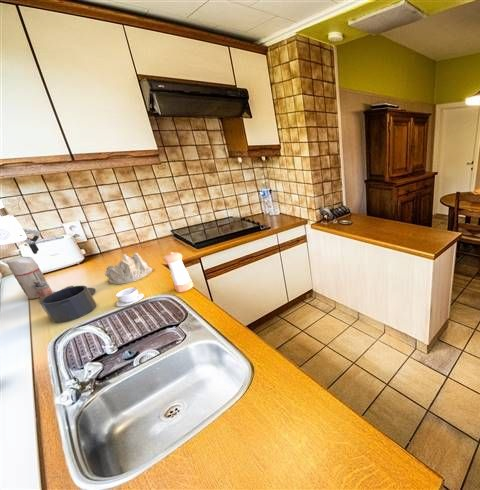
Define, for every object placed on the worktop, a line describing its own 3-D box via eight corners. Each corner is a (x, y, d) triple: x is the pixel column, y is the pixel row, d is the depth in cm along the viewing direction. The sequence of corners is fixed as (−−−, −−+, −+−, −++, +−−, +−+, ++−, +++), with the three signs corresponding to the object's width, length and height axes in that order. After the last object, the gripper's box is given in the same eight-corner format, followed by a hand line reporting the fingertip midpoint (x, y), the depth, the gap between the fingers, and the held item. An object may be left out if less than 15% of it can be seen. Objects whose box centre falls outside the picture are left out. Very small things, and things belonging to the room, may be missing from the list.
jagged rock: (157, 268, 150) (144, 244, 143) (131, 285, 135) (116, 259, 128) (134, 270, 152) (120, 246, 145) (105, 286, 137) (89, 261, 131)
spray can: (34, 293, 132) (11, 257, 124) (56, 288, 135) (35, 253, 127) (23, 301, 125) (-3, 264, 117) (47, 296, 128) (23, 260, 120)
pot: (51, 330, 104) (38, 311, 100) (53, 311, 116) (41, 293, 113) (97, 313, 113) (87, 295, 109) (95, 297, 125) (85, 280, 121)
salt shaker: (189, 282, 134) (176, 248, 126) (196, 286, 130) (183, 251, 122) (173, 289, 128) (158, 253, 121) (180, 293, 124) (165, 257, 117)
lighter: (38, 299, 126) (26, 281, 122) (48, 295, 129) (36, 278, 125) (49, 302, 124) (37, 283, 120) (58, 298, 127) (47, 280, 123)
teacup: (145, 300, 120) (140, 291, 119) (116, 310, 115) (111, 301, 113) (143, 291, 128) (139, 283, 126) (116, 300, 122) (112, 292, 120)
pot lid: (52, 311, 116) (44, 300, 114) (53, 299, 126) (46, 288, 123) (97, 296, 126) (91, 285, 123) (95, 286, 135) (89, 276, 133)
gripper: (-54, 222, 88) (-23, 267, 95) (26, 211, 99) (49, 252, 106) (-46, 218, 93) (-17, 261, 100) (29, 208, 104) (50, 247, 111)
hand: (17, 256), depth 103 cm, fingers open, 9 cm apart
